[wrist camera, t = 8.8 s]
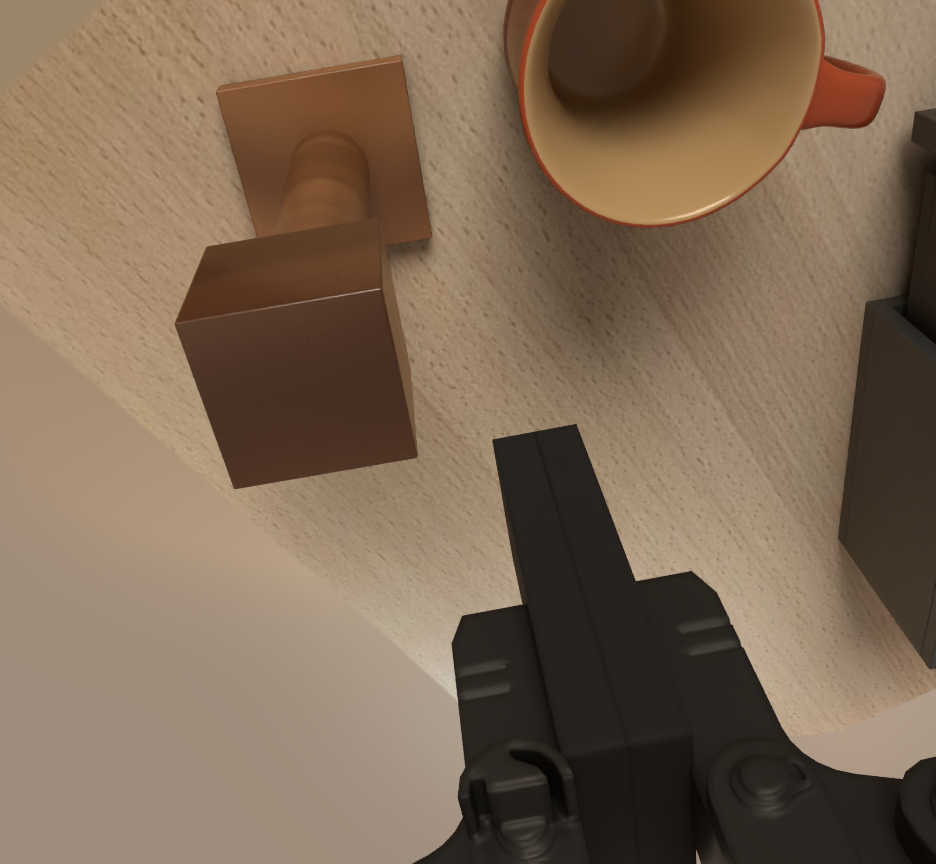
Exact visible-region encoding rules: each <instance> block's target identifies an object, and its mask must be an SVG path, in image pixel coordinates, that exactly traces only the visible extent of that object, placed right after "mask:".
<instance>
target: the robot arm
mask: <svg viewBox="0 0 936 864" xmlns="http://www.w3.org/2000/svg"><path fill="white" fill-rule="evenodd" d="M492 441H493V447H494V453H495V458H496V464H497V470H498V476H499V482H500V487H501V493H502V499H503V505H504V511H505V516H506V522H507V528H508V534H509V540H510V545H511V551H512V557H513V561H514V566H515V571H516V576H517V580H518V585H519V590H520V594H521V599H522V604H523V605H518V606H512V607H507V608H502V609H496V610H491V611H485V612H480V613H475V614H469V615H464V616H462V618H461V620H460V623H459V626H458V628H457V631H456V633H455V636H454V639H453V641H452V652H453V661H454V670H455V676H456V678H455V679H456V688H457V697H458V706H459V715H460V724H461V732H462V741H463V750H464V760H465V769H464V771H463V773H462V775H461V776H460V782H459V791H458V800H459V804H460V808H461V811H462V815H463V818H462V820H461V822H460V824H459V825H458V827H457V829H456V831H455V832H454V833H453V835H452V836H451V837H450V838H449V839H448V840H447V841H446V842H445V843H444V844H443V845H442V846H441V847H439V848H438V849H436V850H435V851H434V852H432V853H431V854H429V855H427V856H426V857H424V858H422V859H420V860H418V861H417V862H415V863H413V864H696V850H697V852H698V855H699V858H700V862H701V864H936V757H932V758H928V759H923V760H920V761H919V762H918V763H916V764H915V765H914V766H912V767H911V768H910V769H909V770H907V771H906V772H905V775H904V777H903V779H895V778H887V777H878V776H869V775H860V774H853V773H848V772H844V771H838V770H835V769H832V768H830V767H828V766H825V765H823V764H820V763H818V762H816V761H815V760H813V759H812V758H810V757H809V756H807V755H806V754H804V753H803V752H802V751H801V750H800V749H799V748H797V747H796V746H795V745H794V744H793V743H792V742H791V741H790V739H789V738H788V736H787V735H786V733H785V732H784V730H783V728H782V727H781V725H780V723H779V721H778V718H777V716H776V714H775V712H774V710H773V708H772V706H771V704H770V702H769V700H768V698H767V696H766V694H765V692H764V689H763V687H762V685H761V683H760V681H759V679H758V677H757V675H756V673H755V671H754V669H753V667H752V665H751V663H750V660H749V658H748V656H747V654H746V652H745V650H744V648H743V647H741V643H740V640H739V638H738V636H737V634H736V632H735V629H734V627H733V625H731V624H730V619H729V617H728V615H727V613H726V611H725V609H724V607H723V605H722V603H721V600H720V598H719V596H718V594H717V592H716V591H714V590H713V589H712V588H711V587H710V586H709V585H707V584H706V583H705V582H704V581H703V580H702V579H700V578H699V577H698V576H697V575H696V574H694V573H693V572H692V571H689V572H684V573H678V574H673V575H668V576H662V577H657V578H651V579H646V580H641V581H635V578H634V575H633V573H632V570H631V567H630V565H629V562H628V559H627V557H626V554H625V551H624V549H623V546H622V543H621V541H620V538H619V536H618V533H617V530H616V528H615V525H614V522H613V520H612V517H611V514H610V512H609V509H608V506H607V504H606V501H605V498H604V496H603V493H602V491H601V488H600V485H599V483H598V480H597V477H596V475H595V472H594V469H593V467H592V464H591V461H590V459H589V456H588V453H587V451H586V448H585V446H584V443H583V440H582V438H581V435H580V432H579V430H578V427H577V424H573V425H568V426H563V427H557V428H552V429H547V430H541V431H536V432H531V433H525V434H520V435H515V436H509V437H504V438H499V439H493V440H492Z"/></svg>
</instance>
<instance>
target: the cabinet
mask: <svg viewBox="0 0 936 864" xmlns="http://www.w3.org/2000/svg"><path fill="white" fill-rule="evenodd" d="M908 298H909V295H905V296H899V297H893V298H887V299H881V300H876V301H870V302H867V303H866V310H865V318H864V327H863V335H862V344H861V352H860V360H859V369H858V377H857V385H856V394H855V402H854V411H853V419H852V427H851V436H850V444H849V452H848V461H847V469H846V477H845V486H844V494H843V503H842V511H841V519H840V528H839V536H838V539H839V540H840V542H841V543H842V544H843V546H844V547H845V549H846V550H847V552H848V553H849V555H850V556H851V557H852V559H853V560H854V562H855V563H856V565H857V566H858V568H859V569H860V570H861V572H862V573H863V575H864V576H865V578H866V579H867V580H868V582H869V583H870V585H871V586H872V588H873V589H874V591H875V592H876V593H877V595H878V596H879V598H880V599H881V601H882V602H883V603H884V605H885V606H886V608H887V609H888V611H889V612H890V614H891V615H892V616H893V618H894V619H895V621H896V622H897V624H898V625H899V627H900V628H901V629H902V631H903V632H904V634H905V635H906V637H907V638H908V639H909V641H910V642H911V644H912V645H913V647H914V648H915V650H916V651H917V652H918V654H919V655H920V656H921V658H922V659H923V661H924V662H925V664H926V665H927V667H928V668H929V669H935V668H936V344H934V343H933V342H932V341H931V340H930V339H929V338H927V337H926V336H925V335H924V334H923V333H922V332H920V331H919V330H918V329H917V328H916V327H915V326H913V325H912V324H911V323H910V322H909V321H907V320H906V319H905V318H906V311H907V304H908Z"/></svg>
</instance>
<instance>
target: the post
mask: <svg viewBox="0 0 936 864" xmlns="http://www.w3.org/2000/svg"><path fill="white" fill-rule="evenodd" d="M216 95H217V98H218V102H219V105H220V109H221V112H222V116H223V119H224V123H225V126H226V130H227V133H228V137H229V140H230V144H231V147H232V150H233V154H234V157H235V161H236V164H237V168H238V171H239V175H240V178H241V182H242V185H243V189H244V192H245V196H246V199H247V203H248V206H249V210H250V213H251V217H252V220H253V224H254V227H255V231H256V234H257V238H260V237H266V236H272V235H278V234H284V233H290V232H296V231H301V230H307V229H313V228H319V227H325V226H331V225H337V224H342V223H348V222H354V221H360V220H366V219H372V218H379V219H380V221H381V226H382V231H383V236H384V241H385V246H388V245H394V244H400V243H406V242H411V241H417V240H423V239H429V238H432V232H431V226H430V221H429V215H428V209H427V203H426V197H425V191H424V185H423V180H422V174H421V168H420V162H419V156H418V150H417V145H416V139H415V133H414V127H413V121H412V115H411V110H410V104H409V98H408V92H407V86H406V80H405V74H404V69H403V63H402V57H401V55H398V56H392V57H387V58H381V59H375V60H369V61H363V62H357V63H351V64H345V65H340V66H334V67H328V68H322V69H316V70H310V71H304V72H298V73H293V74H287V75H281V76H275V77H269V78H263V79H257V80H251V81H246V82H240V83H234V84H228V85H222V86H219V88H218V89H217V91H216Z"/></svg>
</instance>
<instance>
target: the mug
mask: <svg viewBox="0 0 936 864" xmlns="http://www.w3.org/2000/svg"><path fill="white" fill-rule="evenodd" d="M504 51H505V58H506V63H507V67H508V72H509V75H510V77H511V80H512V83H513V85H514V87H515V89H516V92H517V93H518V97H519V108H520V115H521V120H522V125H523V129H524V133H525V136H526V139H527V141H528V144H529V147H530V149H531V151H532V154H533V156H534V158H535V160H536V162H537V163H538V165H539V167H540V168H541V170H542V172H543V173H544V174H545V176H546V177H547V178H548V180H549V181H550V182H551V184H552V185H553V186H554V187H555V188H556V189H557V190H558V191H559V192H560V193H561V194H562V195H563V196H564V197H566V198H567V199H568V200H569V201H570V202H572V203H573V204H574V205H576V206H577V207H579V208H580V209H582V210H584V211H585V212H587V213H589V214H591V215H593V216H595V217H598V218H600V219H602V220H605V221H608V222H611V223H615V224H618V225H624V226H629V227H639V228H660V227H669V226H675V225H680V224H685V223H688V222H691V221H695V220H698V219H701V218H703V217H705V216H708V215H710V214H713V213H715V212H717V211H719V210H721V209H723V208H725V207H726V206H728V205H729V204H731V203H733V202H734V201H736V200H738V199H739V198H740V197H742V196H743V195H744V194H746V193H747V192H748V191H750V190H751V189H752V188H753V187H755V186H756V185H757V184H758V183H759V182H761V181H762V180H763V179H764V178H765V177H766V176H767V175H768V174H769V173H770V172H771V171H772V170H773V169H774V168H775V167H776V166H777V165H778V164H779V163H780V162H781V161H782V159H783V158H784V157H785V156H786V154H787V153H788V151H789V150H790V148H791V147H792V145H793V143H794V141H795V140H796V138H797V136H798V134H799V132H800V130H804V129H810V128H815V127H823V126H826V127H837V128H848V129H858V128H863V127H866V126H868V125H869V124H870V123H872V121H873V120H874V118H875V117H876V115H877V113H878V110H879V108H880V105H881V103H882V100H883V97H884V94H885V89H886V82H885V79H884V78H883V76H881V75H880V74H878V73H876V72H874V71H872V70H870V69H867V68H865V67H862V66H859V65H856V64H853V63H850V62H847V61H844V60H840V59H837V58H833V57H830V56H826V55H824V52H825V31H824V25H823V19H822V14H821V9H820V5H819V2H818V0H508V4H507V8H506V13H505V20H504Z"/></svg>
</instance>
